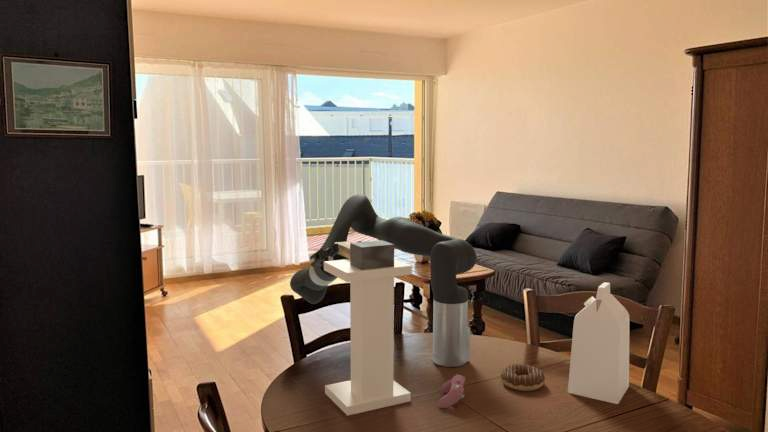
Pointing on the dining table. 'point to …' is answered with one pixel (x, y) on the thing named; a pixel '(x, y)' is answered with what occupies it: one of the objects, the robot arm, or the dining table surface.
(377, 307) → the stand
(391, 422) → the dining table surface
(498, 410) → the dining table surface
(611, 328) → the milk
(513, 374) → the donut
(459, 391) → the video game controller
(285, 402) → the dining table surface
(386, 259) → the grey and beige blocks
